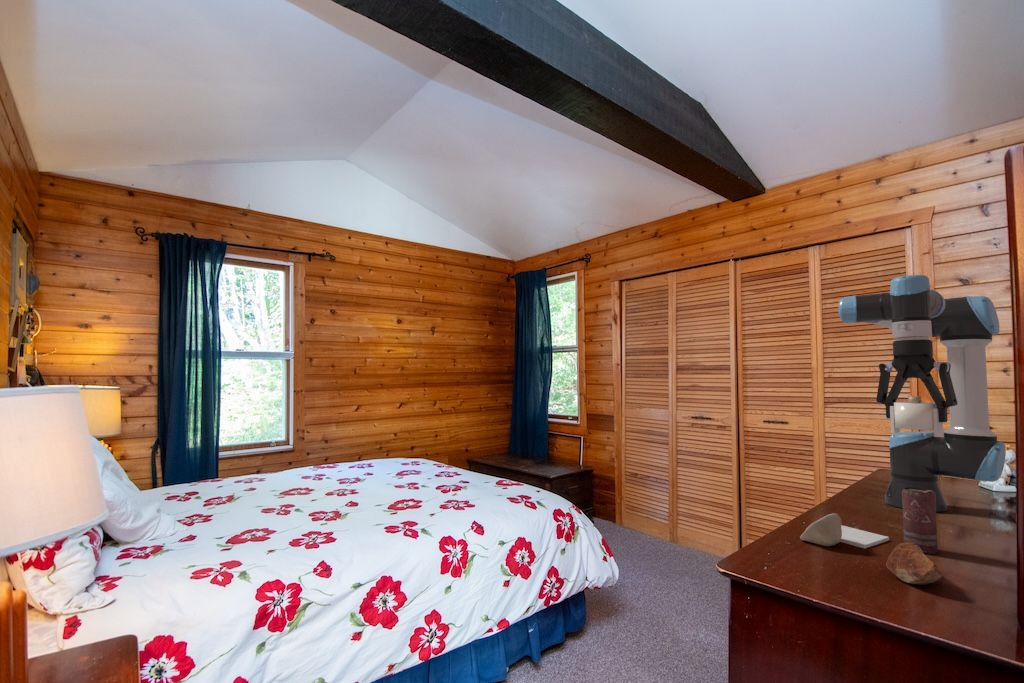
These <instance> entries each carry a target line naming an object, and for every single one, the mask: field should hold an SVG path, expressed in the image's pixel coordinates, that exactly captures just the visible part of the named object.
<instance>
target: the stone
mask: <svg viewBox="0 0 1024 683" xmlns="http://www.w3.org/2000/svg"><path fill="white" fill-rule="evenodd" d="M842 524H843V523H842V517H840V516H839V514H837V513H830V514H826V515H824V516H823V517H821V518H819V519H818V520H815V521H814V522H812V523H810V524H809V525H808V526H807V527H806V529H805V530H804V531H803V532H802V534H801V535H800V536H799V539H800V540H801V541H805V542H809V543H811V544H812V543H813V544H816V545H819V546H823V547H831V546H836V544H839V543H841V542H840V540H841V537H842V529H841V525H842Z"/></svg>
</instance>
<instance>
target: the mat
mask: <svg viewBox="0 0 1024 683" xmlns="http://www.w3.org/2000/svg"><path fill="white" fill-rule="evenodd" d="M841 529H842V537H841V540H840V542H839V543H842V544H847V545H851V546H854V547H857V548H860V549H867V548H870V547H874V546H877V545H880V544H883V543H886V542H888V541H890V536H887V535H883V534H878V533H874V532H869V531H866V530H862V529H858V528H854V527H850V526H846V525H842V524H841Z"/></svg>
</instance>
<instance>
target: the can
mask: <svg viewBox="0 0 1024 683" xmlns="http://www.w3.org/2000/svg"><path fill="white" fill-rule="evenodd" d="M902 506H903V508H902V521H903V522H902V524H903V525H902V526H903V527H902V528H903V543H906V542H908V543H915V544H917V545H918V546H919V547H920V548H921V550H922V551H923V552H924V554H925V555H934V554H936V553H937V552H938V551H939V548H938V545H939V544H938V528H937V526H938V522H937V512H936V495H935V492H934V491H932V490H927V489H921V488H911V487H907V488H904V489H903V491H902Z"/></svg>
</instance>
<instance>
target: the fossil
mask: <svg viewBox="0 0 1024 683" xmlns="http://www.w3.org/2000/svg"><path fill="white" fill-rule="evenodd" d="M885 566H886V569H888V570H890V572H891V574H893V575H895V577H897V578H898V579H899V580H901V581H902V582H904V583H907V584H911V585H929V584H933V583H935V582H937V581H939V580H941V579H942V577H943V574H942V573H941V572H940V571H939V569H938V566H937V565H936V564H935V563H934V562H933V560H931V559H930V558H929V557H928V556H927V554H924V552H923V551H922V550H921V548H920V547H919V546H918V545H917V544H915V543H908V542H906V543H904V542H900V543H898V544H897V545H896V546H895V547H894V548H893V549H892V551H891V552H890V554H889V555H888V558H887V560H886V563H885Z"/></svg>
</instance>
